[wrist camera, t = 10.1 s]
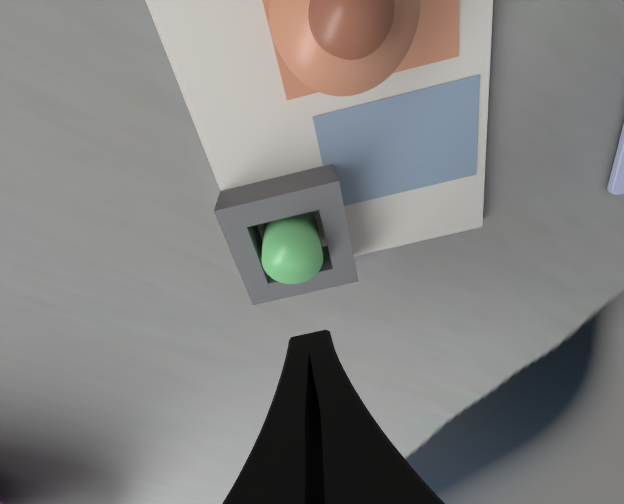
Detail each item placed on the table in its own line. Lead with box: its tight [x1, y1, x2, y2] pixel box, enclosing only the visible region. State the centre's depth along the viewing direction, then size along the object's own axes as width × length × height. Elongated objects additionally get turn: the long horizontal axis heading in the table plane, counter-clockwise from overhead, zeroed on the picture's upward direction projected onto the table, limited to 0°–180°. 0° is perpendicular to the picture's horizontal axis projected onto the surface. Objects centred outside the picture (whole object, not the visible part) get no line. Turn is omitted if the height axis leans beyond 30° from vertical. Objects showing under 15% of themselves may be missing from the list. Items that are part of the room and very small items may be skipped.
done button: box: [262, 212, 323, 284], centre depth 19 cm, size 3×3×3 cm
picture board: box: [146, 0, 493, 305], centre depth 17 cm, size 14×16×3 cm
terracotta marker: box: [269, 0, 420, 96], centre depth 12 cm, size 4×4×8 cm
